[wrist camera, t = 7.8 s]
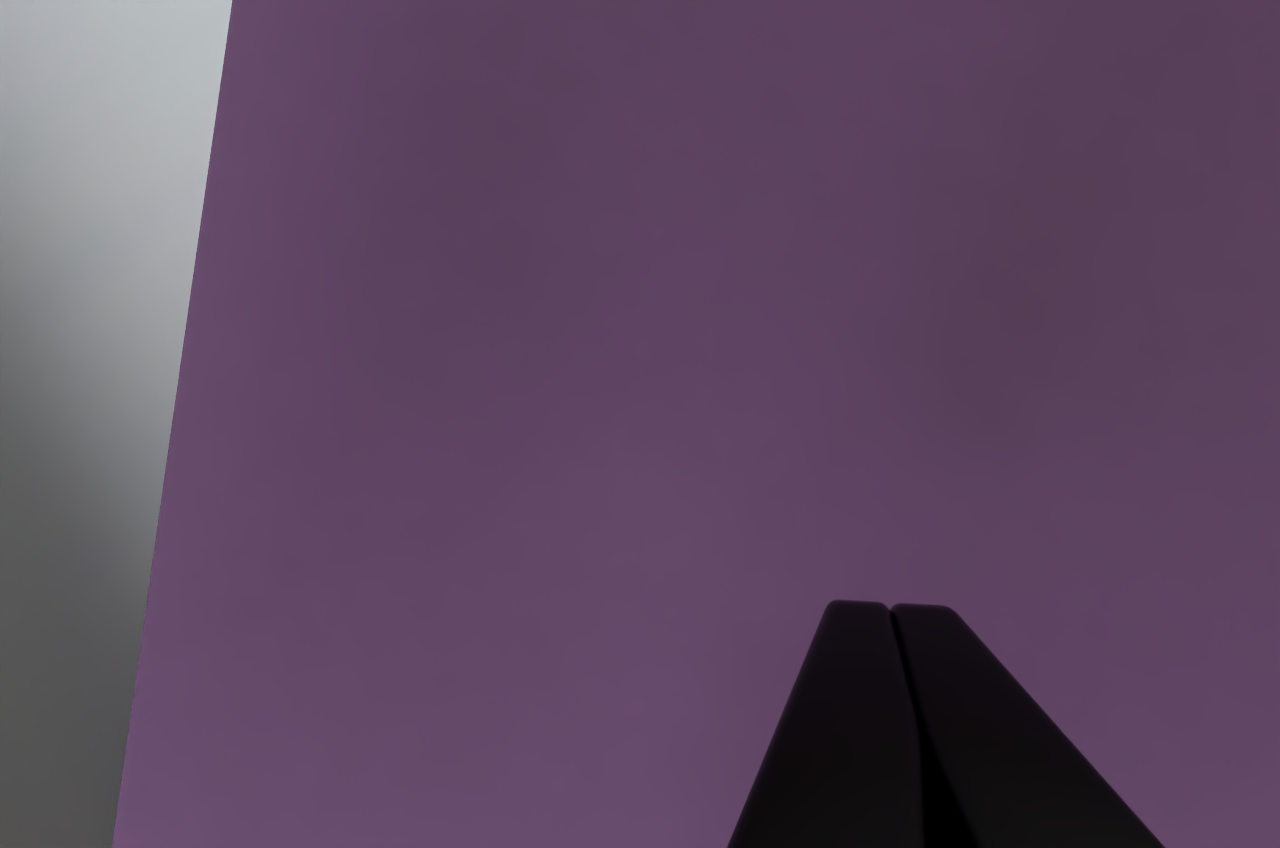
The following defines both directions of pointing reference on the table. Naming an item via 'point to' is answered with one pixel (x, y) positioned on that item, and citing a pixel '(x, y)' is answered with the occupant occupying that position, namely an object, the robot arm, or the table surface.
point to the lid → (709, 406)
